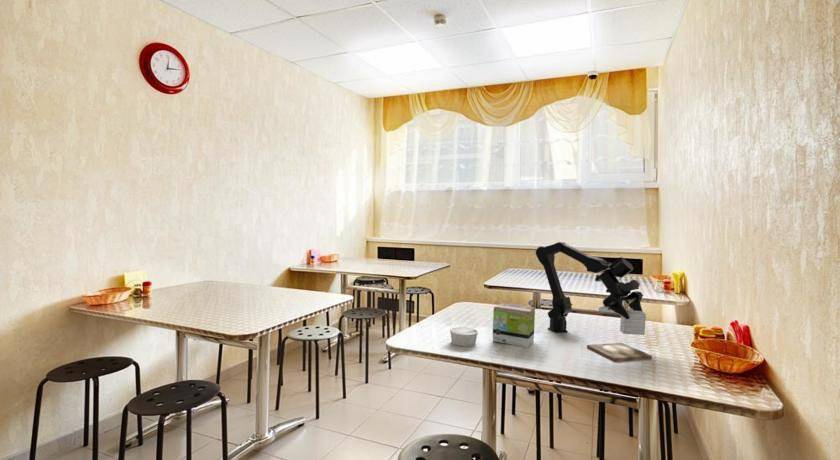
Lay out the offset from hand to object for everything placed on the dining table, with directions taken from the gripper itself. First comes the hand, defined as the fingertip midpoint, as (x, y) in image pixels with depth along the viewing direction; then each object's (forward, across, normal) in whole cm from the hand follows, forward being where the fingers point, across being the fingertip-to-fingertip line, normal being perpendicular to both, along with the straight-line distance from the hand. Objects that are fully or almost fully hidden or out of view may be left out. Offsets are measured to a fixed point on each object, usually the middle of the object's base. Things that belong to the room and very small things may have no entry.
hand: (635, 317), depth 166 cm
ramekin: (-16, -55, +37) cm, 68 cm away
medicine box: (+4, 0, +6) cm, 7 cm away
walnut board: (+9, -9, +10) cm, 16 cm away
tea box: (-11, -36, +31) cm, 49 cm away
